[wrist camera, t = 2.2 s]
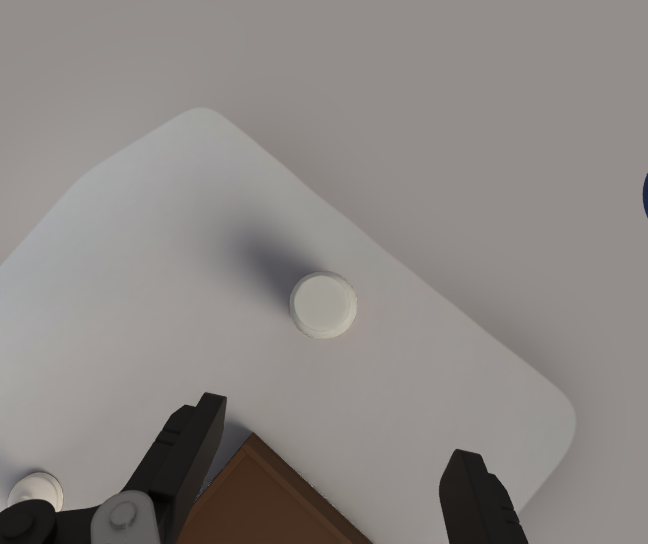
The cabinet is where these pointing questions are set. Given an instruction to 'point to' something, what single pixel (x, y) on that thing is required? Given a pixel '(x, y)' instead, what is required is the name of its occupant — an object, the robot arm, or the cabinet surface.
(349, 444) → the cabinet surface
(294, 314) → the pill bottle
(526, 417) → the cabinet surface
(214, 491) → the tray
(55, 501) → the chess piece
